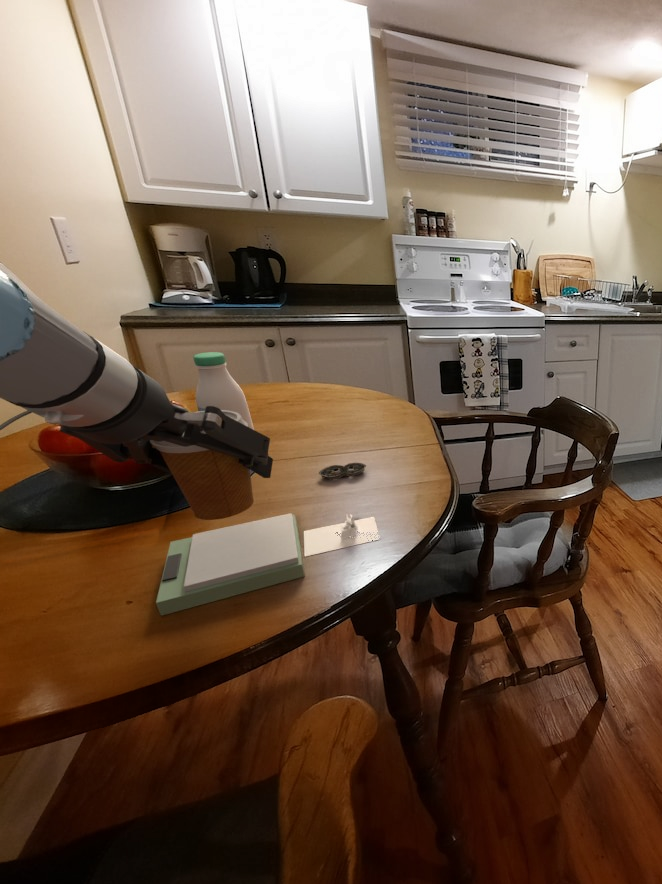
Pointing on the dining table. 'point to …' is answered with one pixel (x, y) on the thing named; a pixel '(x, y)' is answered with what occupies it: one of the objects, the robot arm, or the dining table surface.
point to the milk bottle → (219, 386)
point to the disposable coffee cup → (209, 477)
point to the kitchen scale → (230, 562)
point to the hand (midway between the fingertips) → (230, 469)
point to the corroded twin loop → (342, 470)
